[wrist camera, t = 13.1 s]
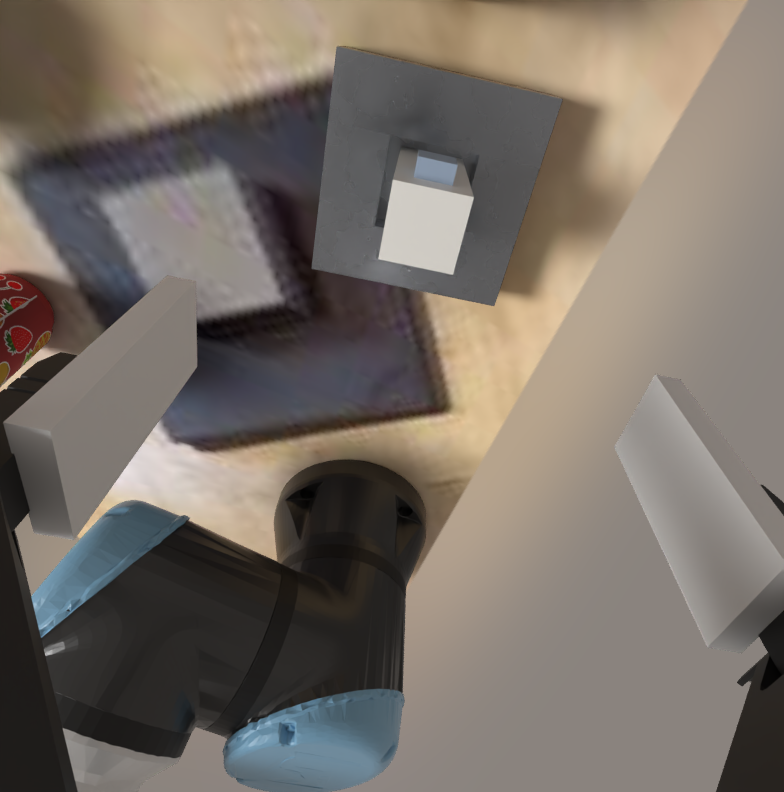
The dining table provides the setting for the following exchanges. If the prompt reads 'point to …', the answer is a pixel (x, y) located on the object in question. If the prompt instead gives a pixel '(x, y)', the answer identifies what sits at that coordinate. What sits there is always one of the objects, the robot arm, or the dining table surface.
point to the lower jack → (438, 133)
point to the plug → (426, 211)
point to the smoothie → (21, 323)
